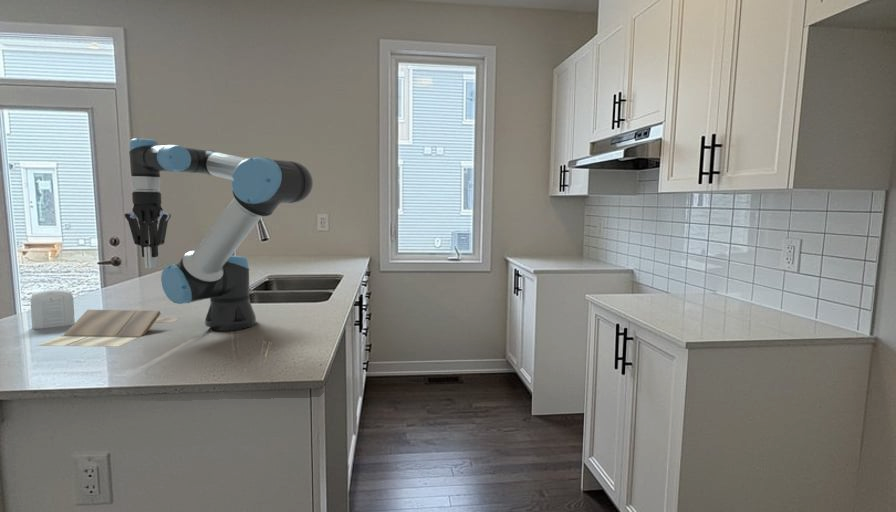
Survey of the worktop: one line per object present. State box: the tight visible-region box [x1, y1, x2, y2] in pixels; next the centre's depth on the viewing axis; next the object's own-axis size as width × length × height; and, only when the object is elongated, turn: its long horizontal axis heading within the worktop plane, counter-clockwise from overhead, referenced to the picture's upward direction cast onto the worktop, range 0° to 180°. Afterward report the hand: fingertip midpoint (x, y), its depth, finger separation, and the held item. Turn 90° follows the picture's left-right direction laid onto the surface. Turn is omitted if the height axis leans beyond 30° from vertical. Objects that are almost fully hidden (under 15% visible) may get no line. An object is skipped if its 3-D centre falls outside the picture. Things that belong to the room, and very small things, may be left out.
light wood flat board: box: [37, 334, 140, 348], centre depth 132 cm, size 22×9×1 cm, turn 90°
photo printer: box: [29, 289, 76, 330], centre depth 146 cm, size 10×4×12 cm, turn 123°
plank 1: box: [63, 309, 161, 338], centre depth 142 cm, size 22×11×1 cm, turn 90°
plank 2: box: [153, 317, 181, 324], centre depth 155 cm, size 20×6×1 cm, turn 95°
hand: (150, 267), depth 148 cm, fingers closed
